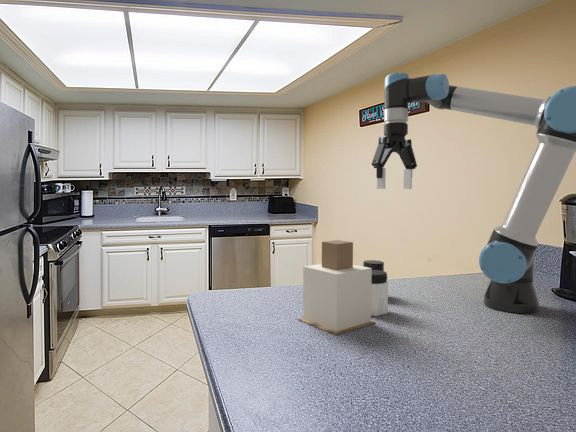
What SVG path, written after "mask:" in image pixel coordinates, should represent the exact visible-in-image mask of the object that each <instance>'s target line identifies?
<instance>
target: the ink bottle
mask: <svg viewBox="0 0 576 432" xmlns="http://www.w3.org/2000/svg"><path fill="white" fill-rule="evenodd" d="M384 264H385V262H384V261H381V260H376V259H375V260H374V259H370V260H363V264H362V266H363V267H368V268H372V270H380V271H385V270H384V269H385V265H384Z"/></svg>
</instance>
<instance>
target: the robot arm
mask: <svg viewBox="0 0 576 432" xmlns="http://www.w3.org/2000/svg"><path fill="white" fill-rule="evenodd" d="M383 92H384V94H383V95H384V96H383V97H384V98H383V99H384V109H383V111H384V114H383V115H384V116H383V120H384V121H383V122H384V124H383V136H379V137H378V144H377V147H376V149H375V152H374V155H373V158H372V161H371V166H373V168H374V169H376V189H377V190H380V189H381V190H384V189H386V175H387V174H386V171H387V170H386V167H385V165H386V163H387V161H388V160H389V159H390V156H391V155H392V153H396V154H398V155H399V157H400V160H401V162H402V164H403V166H404V168H405V169H403V189H404V190H407V189H408V190H409V189H410V190H411V189H412V187H413V185H412V184H413V171H414V170H415V169H416V168H417V167H418V164H417V161H416V157H415V152H414V149H413V146H412V144H413V143H412V139H411V138H409V139H406V138H405V137H406V136H408V132H409V131H408V130H409V124H408V123H407V122H408V121H409V104H413V103H421V102H424V103H427V104H428V105H430V106H431V107H433V108H435V109H438V110H450V111H456V112H460V113H467V114H471V115H476V116H477V115H478V116H483V117H487V118H493V119H498V120H502V121H509V122H516V123H518V124H519V123H520V124H525V125H530V126H535V128H536V130H537V131H536V133H535V136H536V139H537V140H538V144H537V146H536V149H535V151H534V153H533V155H532V157H531V160H530V162H529V164H528V166H527V169H526V171H525V173H524V175H523V177H522V180H521V183H520V185H519V187H518V189H517V192H516V193H515V195H514V198H513V200H512V202H511V205H510V207H509V209H508V211H507V213H506V216H505V218H504V221H503V222H502V224H501V225H499V226H495V227H494V228H493V230H492V232H491V234H490V237H489V239H488V242H487V244H486V245H485V246H484V247H483V248H482V249H481V251H480V254H479V256H478V257H479V258H478V263H479V267H480V270H481V273H482V274H483V275H484V276H485V277H486V278H487V279H489V283H488V286H487V288H486V291H485V293H484V296H483V304H484V305H485V306H486V307H488V308H490V309H493V310H497V311H502V312H508V313H513V314H514V313H515V314H516V313H517V314H533V313H536V312H538V311H539V309H540V302H539V299H538V296H537V292H536V289H535V286H534V271H535V270H534V268H535V267H534V265H535V264H534V263H535V262H534V261H535V253H536V250H537V248H538V246H539V242H538V240H537V238H536V236H537V234H538V231H539V229H540V227H541V226H542V223H543V221H544V219H545V217H546V215H547V213H548V211H549V209H550V206H551V204H552V203H553V200H554V198H555V196H556V194H557V191H558V189H559V188H560V185H561V183H562V181H563V179H564V177H565V175H566V172H567V170H568V168H569V166H570V164H571V162H572V160H573V157H574V156H575V153H576V85H571V86H567V87H566V86H565V87H564V88H562V89H560V90H558V91H557V92H555V93H554V94H552V96H548V97H546V98H545V99H542V98H536V97H530V96H522V95H518V94H517V95H515V94H510V93H505V92H503V93H502V92H498V91H497V92H496V91H490V90H484V89H476V88H470V87H462V86H456V85H450V83H449V78H448V76H447V75H446V74H445V73H436V74H435V73H432V74H430V75H424V76H417V77H413V78H412V77H411V78H410V76H409V74H408V73H406V72H392V73H389V74H388V75H386V76H385V78H384V88H383Z"/></svg>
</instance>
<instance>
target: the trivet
mask: <svg viewBox="0 0 576 432" xmlns="http://www.w3.org/2000/svg"><path fill="white" fill-rule="evenodd" d="M297 320H298V321H300V322H302V323H304V324H307V325H308V326H309V325H310V326H312V327H314V328H317V329H320V330H322V331H325V332H327V333H329V334H331V335H334V336H335V335H336V336H338V335H340V334H343V333H347V332H350V331H354V330H357V329H361V328H364V327H368V326H370V325H375V324H376V321H374V320H371V322H368V323H364V324H361V325H357V326H354V327H351V328H347V329H344V330H340V331H337V332H336V331H333V330H331V329H328V328H326V327H323V326H321V325H318V324H315V323H313V322H310V321H308V320H305V319H303V317H299V318H298V319H297Z"/></svg>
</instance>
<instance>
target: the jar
mask: <svg viewBox="0 0 576 432" xmlns="http://www.w3.org/2000/svg"><path fill="white" fill-rule="evenodd" d="M388 301H389V282H388V272H387V271H385V270H384V271H380V270H372V284H371V317H372V316H373V317H378V316H383V315H387V314H388V311H389V310H388V307H389V306H388V305H389V302H388Z"/></svg>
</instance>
